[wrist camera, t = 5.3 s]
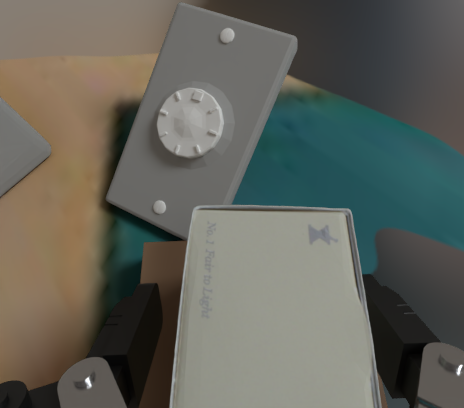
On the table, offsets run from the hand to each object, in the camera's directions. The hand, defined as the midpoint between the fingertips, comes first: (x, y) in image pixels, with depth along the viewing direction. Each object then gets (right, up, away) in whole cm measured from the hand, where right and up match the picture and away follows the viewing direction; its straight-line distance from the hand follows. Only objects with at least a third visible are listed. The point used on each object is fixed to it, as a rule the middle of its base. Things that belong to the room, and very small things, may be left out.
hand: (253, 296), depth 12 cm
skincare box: (0, -4, +6) cm, 7 cm away
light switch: (-3, +7, +11) cm, 14 cm away
